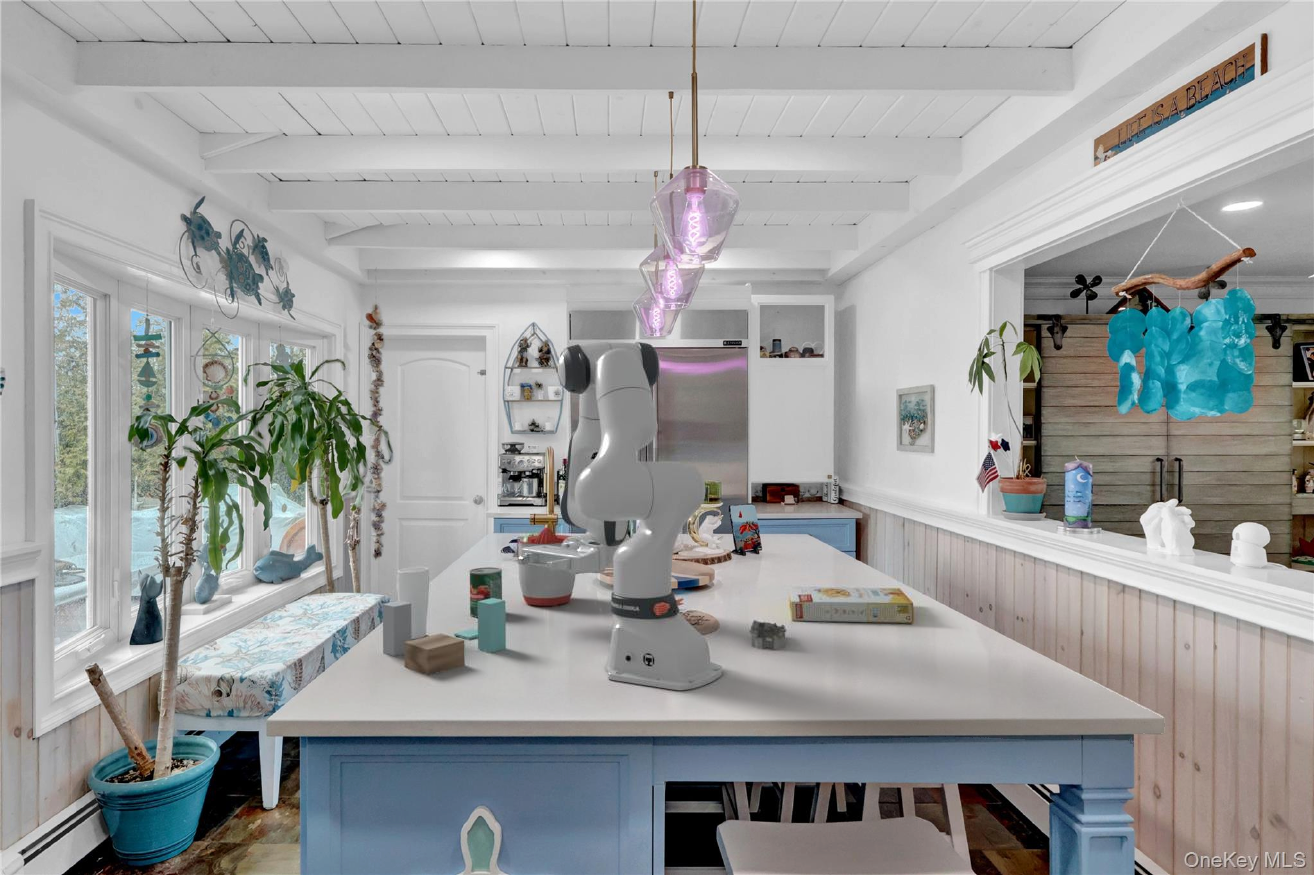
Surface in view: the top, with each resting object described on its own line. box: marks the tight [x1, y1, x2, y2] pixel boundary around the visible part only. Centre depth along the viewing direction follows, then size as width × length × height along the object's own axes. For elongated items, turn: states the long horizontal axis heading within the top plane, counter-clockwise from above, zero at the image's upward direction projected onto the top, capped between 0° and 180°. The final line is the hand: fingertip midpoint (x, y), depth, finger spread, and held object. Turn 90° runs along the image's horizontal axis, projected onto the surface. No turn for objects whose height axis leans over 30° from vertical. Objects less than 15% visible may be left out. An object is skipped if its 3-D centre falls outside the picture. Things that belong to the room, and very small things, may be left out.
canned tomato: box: [469, 566, 503, 618], centre depth 183 cm, size 8×8×11 cm
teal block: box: [477, 598, 507, 653], centre depth 153 cm, size 4×4×10 cm
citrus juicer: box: [512, 527, 577, 607], centre depth 196 cm, size 16×17×20 cm
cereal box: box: [788, 585, 915, 624], centre depth 181 cm, size 20×6×28 cm
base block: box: [404, 633, 466, 676], centre depth 142 cm, size 8×8×5 cm
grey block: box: [382, 600, 413, 657], centre depth 151 cm, size 4×4×10 cm
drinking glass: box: [396, 566, 430, 640], centre depth 163 cm, size 7×7×15 cm
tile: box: [453, 628, 478, 640], centre depth 163 cm, size 5×5×1 cm
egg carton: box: [748, 619, 788, 650], centre depth 156 cm, size 11×8×4 cm
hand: (534, 563), depth 163 cm, fingers open, 8 cm apart
